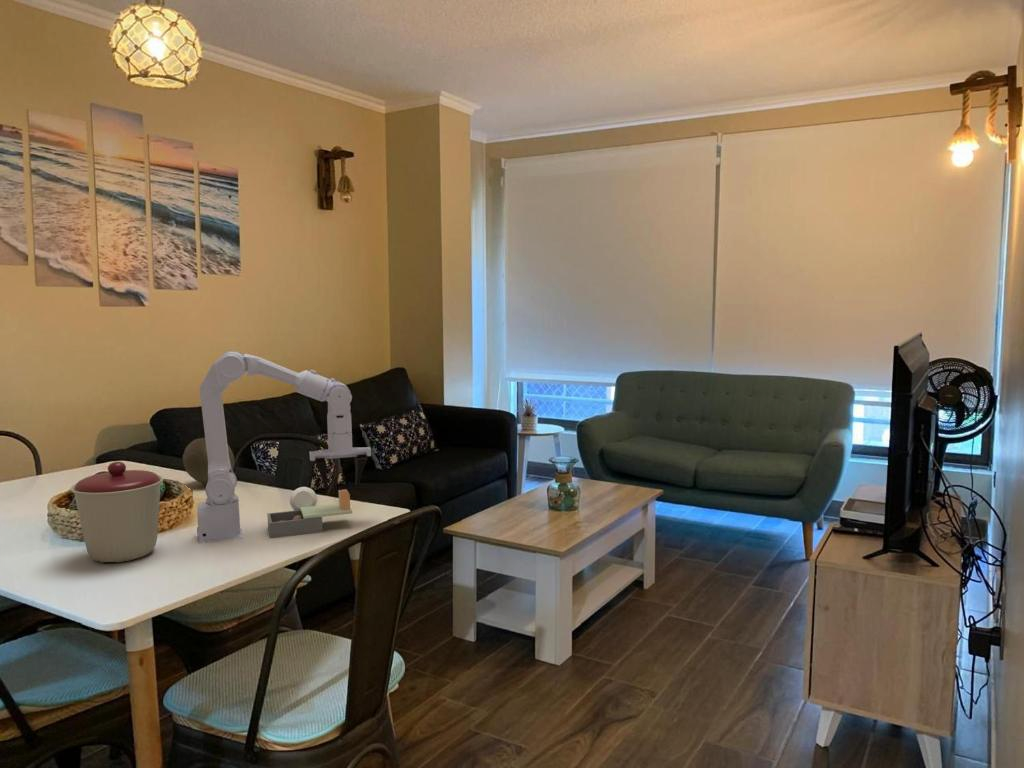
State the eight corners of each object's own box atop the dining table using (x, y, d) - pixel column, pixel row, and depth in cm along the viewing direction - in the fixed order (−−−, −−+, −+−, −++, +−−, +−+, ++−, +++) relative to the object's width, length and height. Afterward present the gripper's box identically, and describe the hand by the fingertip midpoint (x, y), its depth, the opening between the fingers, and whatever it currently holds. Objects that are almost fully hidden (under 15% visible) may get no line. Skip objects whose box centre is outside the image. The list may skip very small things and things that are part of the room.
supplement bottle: (318, 509, 203) (319, 510, 190) (292, 515, 201) (292, 516, 189) (314, 484, 203) (314, 484, 191) (288, 489, 201) (287, 489, 189)
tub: (270, 540, 179) (269, 523, 178) (268, 529, 187) (267, 513, 187) (322, 533, 183) (322, 517, 183) (318, 523, 191) (317, 508, 191)
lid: (303, 518, 181) (302, 500, 181) (300, 509, 189) (299, 492, 189) (352, 513, 185) (351, 495, 185) (347, 504, 193) (346, 487, 193)
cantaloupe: (225, 477, 243) (222, 431, 241) (242, 485, 232) (239, 436, 231) (179, 485, 234) (176, 436, 232) (193, 493, 223) (190, 443, 222)
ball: (292, 529, 185) (292, 517, 185) (291, 526, 188) (291, 514, 187) (305, 528, 186) (305, 516, 186) (304, 525, 189) (303, 513, 188)
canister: (83, 548, 175) (76, 457, 172) (170, 538, 181) (164, 451, 179) (69, 574, 158) (61, 474, 156) (165, 563, 164) (158, 466, 162)
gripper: (366, 427, 193) (368, 480, 194) (307, 431, 188) (309, 486, 189) (371, 432, 186) (373, 486, 188) (310, 436, 181) (312, 492, 183)
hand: (341, 486), depth 188 cm, fingers open, 7 cm apart
